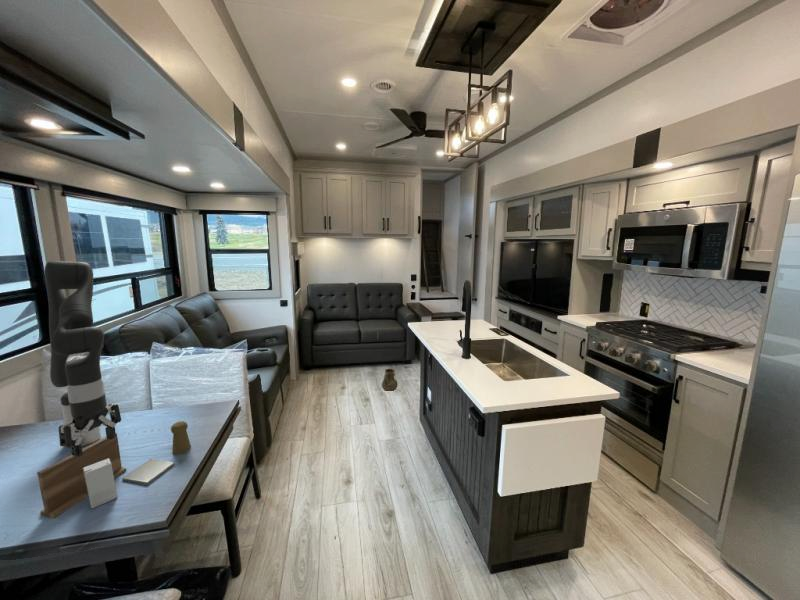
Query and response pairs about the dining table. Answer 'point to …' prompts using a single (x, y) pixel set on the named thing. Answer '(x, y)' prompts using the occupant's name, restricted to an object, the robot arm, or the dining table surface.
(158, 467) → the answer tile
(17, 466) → the dining table surface
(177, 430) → the olive stepped cylinder
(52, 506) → the walnut screen
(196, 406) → the dining table surface
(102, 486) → the skincare box
